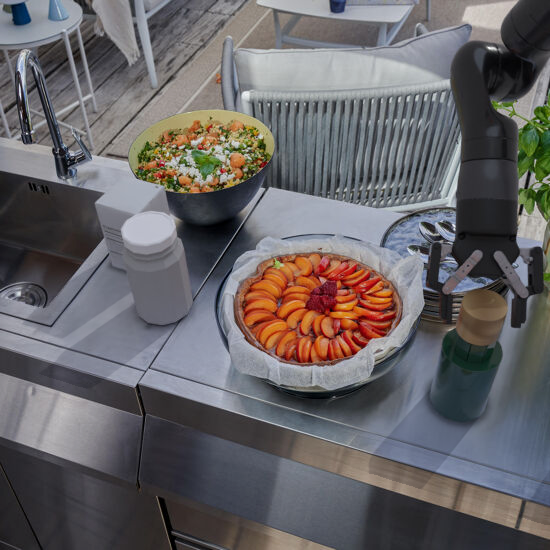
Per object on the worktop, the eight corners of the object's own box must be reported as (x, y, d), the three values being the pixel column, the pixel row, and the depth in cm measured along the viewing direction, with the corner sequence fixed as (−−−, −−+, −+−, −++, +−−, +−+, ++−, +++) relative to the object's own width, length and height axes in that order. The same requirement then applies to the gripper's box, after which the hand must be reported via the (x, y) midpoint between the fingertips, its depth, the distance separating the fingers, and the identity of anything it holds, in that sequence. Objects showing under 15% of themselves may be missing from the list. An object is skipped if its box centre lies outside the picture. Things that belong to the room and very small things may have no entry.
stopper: (491, 334, 88) (504, 290, 82) (496, 366, 84) (511, 322, 78) (449, 330, 89) (460, 287, 83) (452, 362, 85) (464, 319, 79)
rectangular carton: (138, 237, 124) (123, 173, 113) (178, 249, 121) (166, 184, 110) (110, 267, 118) (92, 202, 107) (151, 280, 115) (137, 215, 104)
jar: (140, 289, 113) (120, 208, 101) (195, 286, 113) (182, 205, 101) (133, 330, 106) (111, 249, 94) (192, 327, 106) (177, 246, 94)
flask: (482, 380, 97) (504, 311, 86) (488, 425, 91) (512, 357, 81) (428, 376, 98) (444, 306, 87) (431, 420, 92) (448, 352, 82)
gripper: (435, 193, 79) (429, 324, 79) (554, 197, 78) (549, 331, 77) (426, 201, 86) (420, 321, 86) (534, 205, 85) (529, 327, 85)
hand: (481, 325), depth 82 cm, fingers open, 8 cm apart
